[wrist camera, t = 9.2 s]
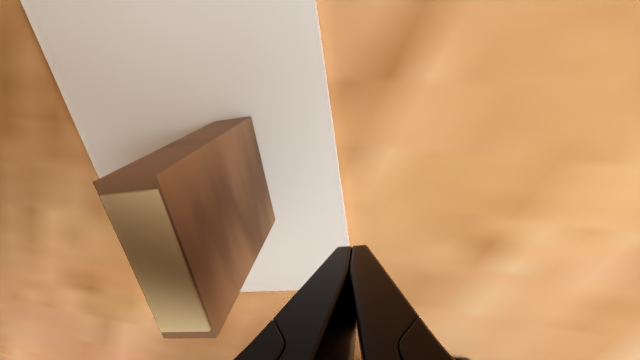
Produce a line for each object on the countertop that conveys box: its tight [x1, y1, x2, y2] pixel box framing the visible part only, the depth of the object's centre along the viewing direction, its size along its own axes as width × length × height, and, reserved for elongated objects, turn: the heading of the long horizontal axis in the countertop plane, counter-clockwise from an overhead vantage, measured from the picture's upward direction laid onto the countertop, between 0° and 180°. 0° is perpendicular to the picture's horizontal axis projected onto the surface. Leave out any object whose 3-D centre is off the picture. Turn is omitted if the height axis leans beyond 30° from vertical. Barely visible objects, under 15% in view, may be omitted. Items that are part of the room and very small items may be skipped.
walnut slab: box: [93, 116, 275, 338], centre depth 13 cm, size 6×2×8 cm, turn 9°
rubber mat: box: [20, 0, 350, 292], centre depth 17 cm, size 18×14×1 cm
